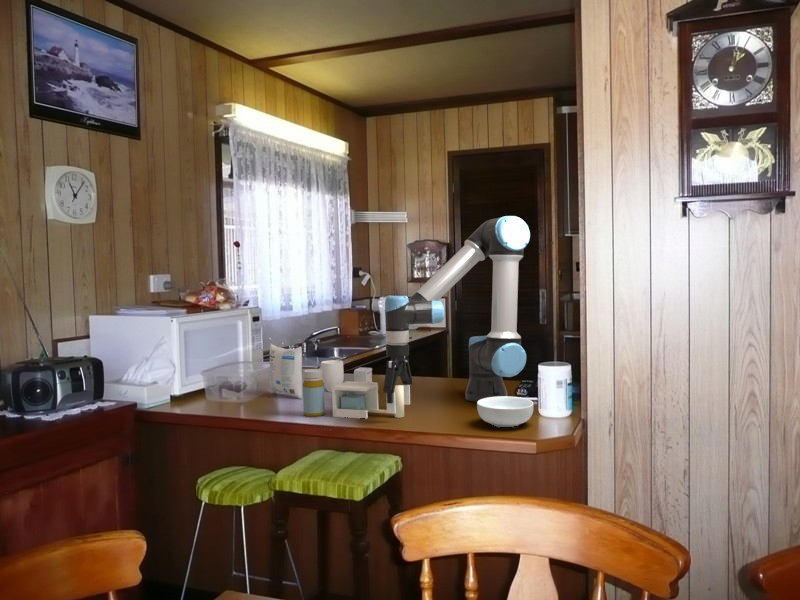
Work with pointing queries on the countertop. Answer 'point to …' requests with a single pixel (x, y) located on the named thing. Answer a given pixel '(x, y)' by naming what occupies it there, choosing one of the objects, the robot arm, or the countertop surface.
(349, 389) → the cubby shelf
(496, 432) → the countertop surface
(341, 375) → the mug
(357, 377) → the ink box
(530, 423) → the countertop surface
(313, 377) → the bottle
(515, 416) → the cereal bowl
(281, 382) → the pouch
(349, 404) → the toy mallet
